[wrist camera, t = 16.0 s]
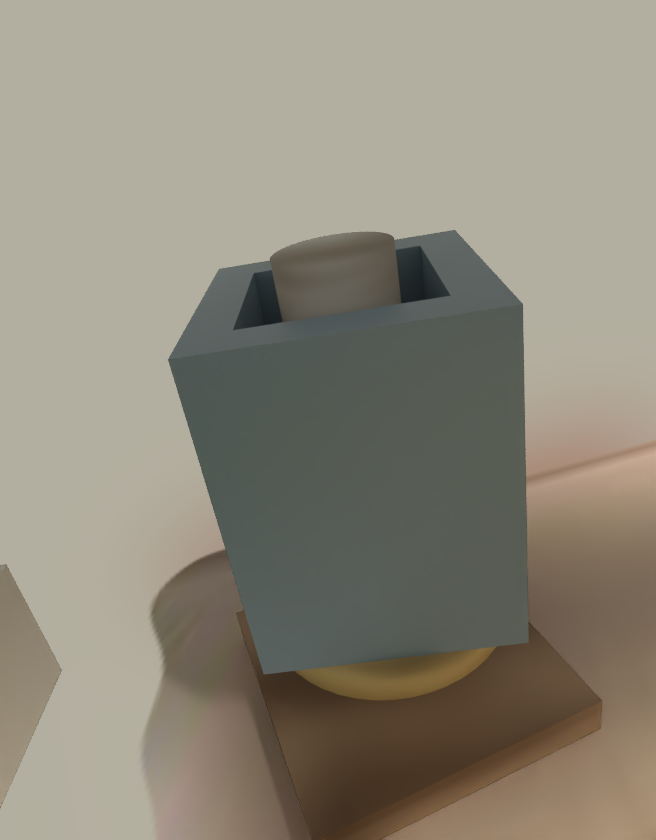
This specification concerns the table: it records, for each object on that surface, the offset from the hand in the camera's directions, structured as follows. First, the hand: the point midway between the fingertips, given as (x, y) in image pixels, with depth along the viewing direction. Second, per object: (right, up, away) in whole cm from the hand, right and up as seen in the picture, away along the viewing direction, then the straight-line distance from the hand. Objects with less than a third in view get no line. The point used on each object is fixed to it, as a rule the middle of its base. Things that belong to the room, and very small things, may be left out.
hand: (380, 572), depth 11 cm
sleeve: (+1, -3, +12) cm, 13 cm away
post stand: (+2, -8, +15) cm, 17 cm away
